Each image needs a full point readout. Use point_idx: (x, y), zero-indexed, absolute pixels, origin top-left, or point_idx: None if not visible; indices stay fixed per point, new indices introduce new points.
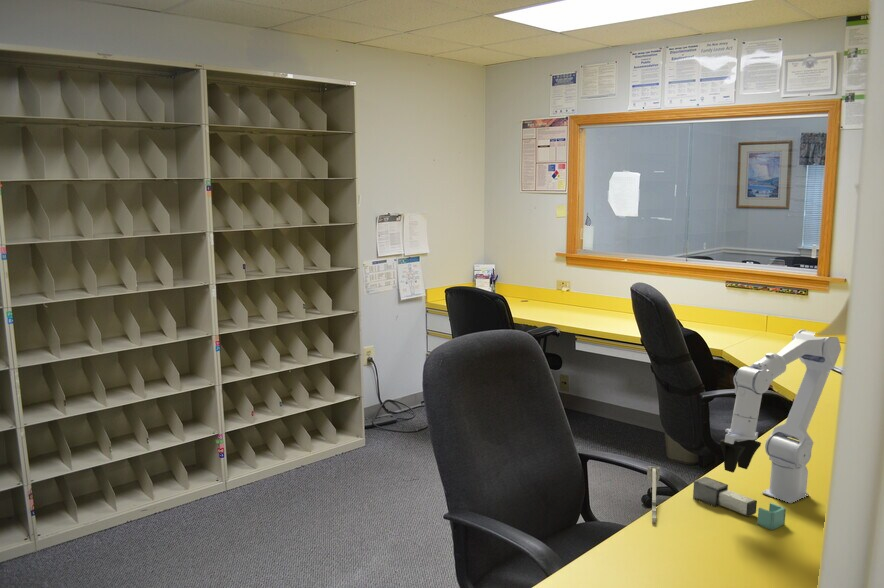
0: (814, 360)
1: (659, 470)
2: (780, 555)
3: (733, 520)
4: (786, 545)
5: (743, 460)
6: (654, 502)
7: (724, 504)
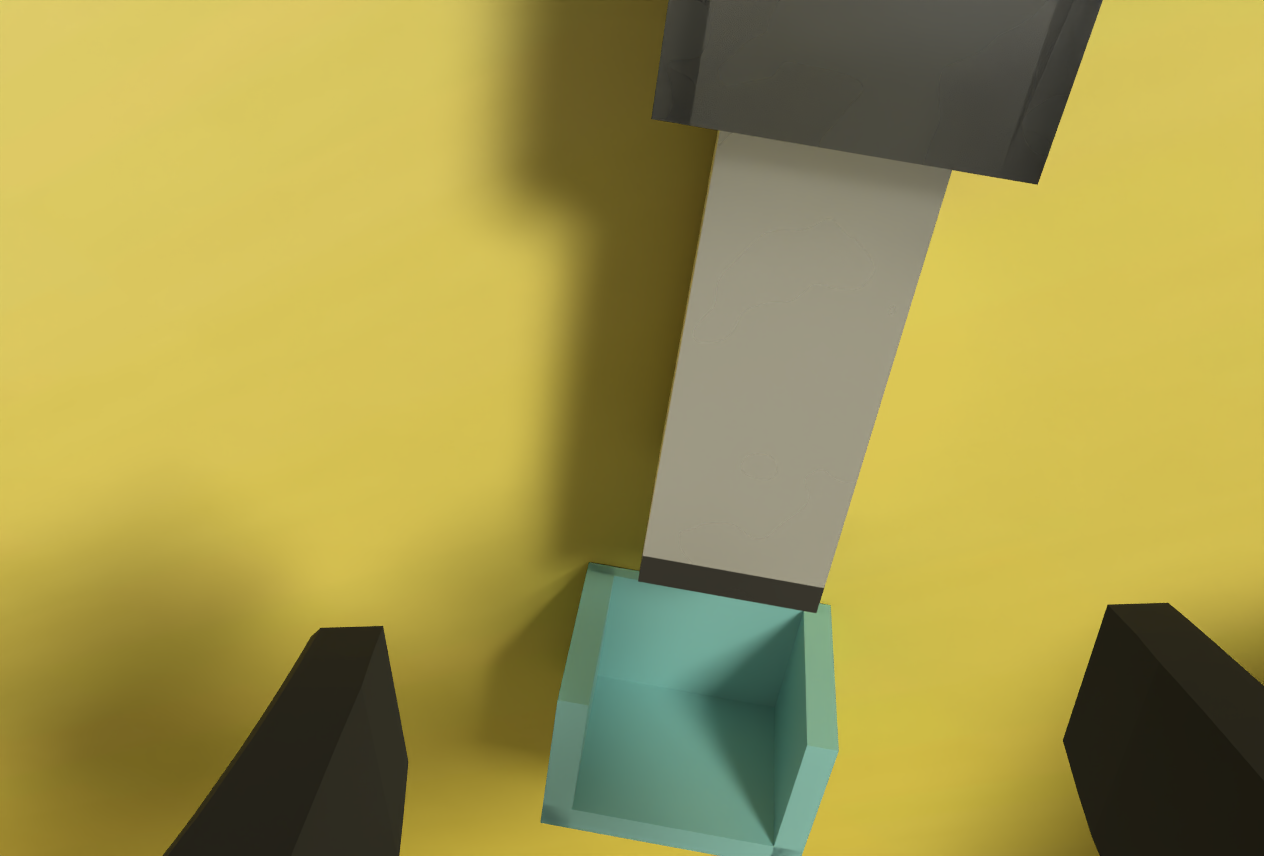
0: None
1: None
2: (198, 806)
3: (479, 364)
4: None
5: (1175, 840)
6: None
7: (709, 179)
